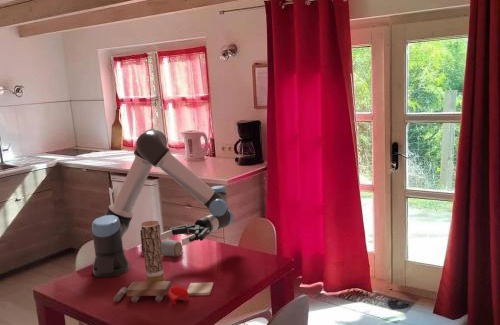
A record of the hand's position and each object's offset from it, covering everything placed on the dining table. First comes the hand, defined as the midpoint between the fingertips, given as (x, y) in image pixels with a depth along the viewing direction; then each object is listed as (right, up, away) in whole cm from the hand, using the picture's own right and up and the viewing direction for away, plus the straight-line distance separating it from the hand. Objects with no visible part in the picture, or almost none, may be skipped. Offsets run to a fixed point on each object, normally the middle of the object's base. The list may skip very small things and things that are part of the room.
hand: (171, 239), depth 195 cm
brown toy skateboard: (-8, -19, -17) cm, 27 cm away
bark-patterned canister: (-5, -17, -5) cm, 18 cm away
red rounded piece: (+7, -19, -23) cm, 31 cm away
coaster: (+13, -17, -14) cm, 26 cm away
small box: (-16, -10, +38) cm, 42 cm away
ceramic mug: (-3, -12, +26) cm, 29 cm away
